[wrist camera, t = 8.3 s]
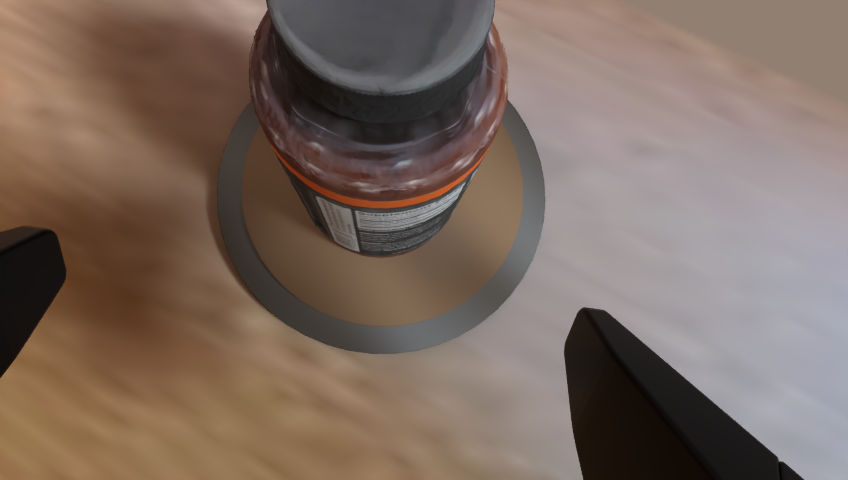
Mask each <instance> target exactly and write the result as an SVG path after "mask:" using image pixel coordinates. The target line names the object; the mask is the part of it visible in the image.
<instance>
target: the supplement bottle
mask: <svg viewBox="0 0 848 480" xmlns="http://www.w3.org/2000/svg"><path fill="white" fill-rule="evenodd" d="M266 2H267V8H268V10H267V12H266V14H265V15H264V17H263V19H262V21H261V22H260V24H259V27H258V29H257V30H256V34H255V36H254V42H253V44H252V48H251V52H250V67H249V83H250V89H251V98H252V101H253V105H254V108H255V114H256V115H257V117H258V120H259V123H260V125H261V127H262V129H263V131H264V133H265V135H266V137H267V140H268V141H269V143H270V144H271V146H272V148H273V149H274V151H275V153H276V156H277V158H278V161H279V162H280V164H281V165H282V167H283V169H284V170H285V172H286V174H287V176H288V177H289V179H290V181H291V184H292V185H293V187H294V188H295V190H296V192H297V194H298V196H299V198H300V199H301V201H302V203H303V205H304V206H305V208H306V210H307V212H308V214H309V216H310V218H311V219H312V221H313V222H314V223H315V226H316V227H318V228H319V230H320V231H321V232H322V233H323V234H324V235H325V236H326V237H328V238H329V239H330V240H331V241H332V242H334V243H335V244H337V245H339V246H340V247H342V248H344V249H346V250H348V251H350V252H352V253H356V254H359V255H362V256H366V257H373V258H386V257H395V256H399V255H403V254H406V253H409V252H411V251H414V250H416V249H418V248H419V247H421V246H423V245H425V244H426V243H427V242H428V241H430V240H432V239H433V238H434V237H435V236H436V235H437V234H438V232H439V231H440V230H441V229H442V228H443V227H444V225H445V224H446V223H447V221H448V220H449V219H450V217H451V215H452V213H453V211H454V210H455V208H456V206H457V205H458V203H459V201H460V199H461V198H462V196H463V194H464V192H465V190H466V189H467V187H468V185H469V184H470V182H471V180H472V178H473V177H474V175H475V173H476V171H477V169H478V168H479V166H480V164H481V162H482V160H483V159H484V157H485V155H486V153H487V151H488V149H489V148H490V146H491V144H492V142H493V140H494V138H495V136H496V134H497V132H498V129H499V127H500V125H501V121H502V118H503V114H504V111H505V107H506V103H507V98H508V65H507V58H506V53H505V49H504V46H503V43H502V41H501V38H500V35H499V33H498V31H497V29H496V27H495V25H494V23H493V21H492V20H493V16H494V7H495V0H266Z"/></svg>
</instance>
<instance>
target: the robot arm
mask: <svg viewBox="0 0 848 480" xmlns="http://www.w3.org/2000/svg"><path fill="white" fill-rule="evenodd" d="M65 278H66V267H65V263H64V260H63V256H62V252H61V248H60V244H59V241H58V237H57V235H56V234H55V232H53V231H52V230H50V229H46V228H39V227H32V226H21V227H17V228H14V229H10V230H6V231H3V232H0V378H1V377H2V375H3V374H4V373H5V372H6V370H7V369H8V368H9V366H10V365H11V364H12V362H13V361H14V360H15V358H16V357H17V355H18V354H19V352H20V351H21V349H22V348H23V347H24V345H25V343H26V342H27V340H28V339H29V337H30V336H31V334H32V332H33V331H34V329H35V328H36V326H37V325H38V323H39V322H40V320H41V318H42V317H43V315H44V314H45V312H46V311H47V309H48V307H49V306H50V304H51V303H52V301H53V300H54V298H55V296H56V295H57V293H58V292H59V290H60V289H61V287H62V285H63V283H64V281H65ZM564 357H565V366H566V375H567V384H568V394H569V403H570V412H571V421H572V428H573V434H574V439H575V444H576V449H577V453H578V458H579V462H580V467H581V471H582V475H583V480H804V479H803V478H802V477H801V476H799V475H798V474H797V473H796V472H795V471H794V470H792V469H791V468H790V467H789V466H788V465H787V464H785V463H784V462H782V461H780V462H779V460H778V457H777V456H776V455H775V454H773V453H772V452H771V451H770V450H769V449H768V448H766V447H765V446H764V445H763V444H762V443H760V442H759V441H758V440H757V439H756V438H755V437H753V436H752V435H751V434H750V433H749V432H748V431H746V430H745V429H744V428H743V427H742V426H740V425H739V424H738V423H737V422H736V421H735V420H733V419H732V418H731V417H730V416H729V415H728V414H726V413H725V412H724V411H723V410H722V409H720V408H719V407H718V406H717V405H716V404H715V403H713V402H712V401H711V400H710V399H709V398H708V397H706V396H705V395H704V394H703V393H702V392H700V391H699V390H698V389H697V388H696V387H695V386H693V385H692V384H691V383H690V382H689V381H688V380H686V379H685V378H684V377H683V376H682V375H680V374H679V373H678V372H677V371H676V370H675V369H673V368H672V367H671V366H670V365H669V364H668V363H666V362H665V361H664V360H663V359H662V358H660V357H659V356H658V355H657V354H656V353H655V352H653V351H652V350H651V349H650V348H649V347H648V346H646V345H645V344H644V343H643V342H642V341H640V340H639V339H638V338H637V337H636V336H635V335H633V334H632V333H631V332H630V331H629V330H628V329H626V328H625V327H624V326H623V325H622V324H621V323H619V322H618V321H617V320H616V319H615V318H613V317H612V316H611V315H610V314H609V313H608V312H606V311H604V310H600V309H593V308H586V307H584V308H582V309H580V310H579V312H578V313H577V315H576V318H575V320H574V323H573V325H572V327H571V330H570V332H569V334H568V337H567V339H566V342H565V347H564Z"/></svg>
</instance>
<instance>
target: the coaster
mask: <svg viewBox="0 0 848 480" xmlns="http://www.w3.org/2000/svg"><path fill="white" fill-rule="evenodd" d="M217 202H218V216H219V221H220V226H221V231H222V236H223V239H224V241H225V244H226V247H227V250H228V253H229V256H230V258H231V260H232V261H233V263H234V265H235V267H236V269H237V271H238V273H239V275H240V276H241V278H242V279H243V281H244V282H245V283H246V285H247V286H248V288H249V289H250V290H251V292H252V293H253V294H254V295H255V296H256V297H257V299H258V300H259V301H260V302H261V303H262V304H263V305H264V306H265V307H266V308H267V309H268V310H269V311H270V312H272V313H273V314H274V315H275V316H277V317H278V318H279V319H280V320H282V321H283V322H284V323H285V324H287V325H289V326H290V327H292V328H294V329H295V330H297V331H299V332H300V333H302V334H304V335H305V336H308V337H310V338H312V339H315V340H317V341H320V342H322V343H324V344H327V345H330V346H334V347H338V348H341V349H345V350H349V351H356V352H363V353H371V354H395V353H403V352H410V351H417V350H421V349H425V348H428V347H432V346H436V345H439V344H442V343H444V342H446V341H449V340H451V339H453V338H456V337H458V336H460V335H462V334H463V333H465V332H467V331H469V330H470V329H472V328H474V327H475V326H477V325H479V324H480V323H481V322H482V321H484V320H485V319H486V318H487V317H489V316H490V315H491V314H492V313H494V312H495V311H496V310H497V309H498V308H499V307H500V306H501V305H502V304H503V303H504V302H505V301H506V299H507V298H508V297H509V296H510V295H511V294H512V292H513V291H514V290H515V288H516V287H517V285H518V284H519V283H520V281H521V280H522V279H523V277H524V275H525V273H526V271H527V269H528V267H529V265H530V263H531V262H532V260H533V257H534V254H535V251H536V249H537V246H538V243H539V240H540V236H541V231H542V226H543V222H544V211H545V187H544V178H543V172H542V167H541V162H540V159H539V156H538V153H537V150H536V146H535V143H534V141H533V139H532V137H531V135H530V133H529V131H528V129H527V127H526V125H525V123H524V122H523V120H522V118H521V117H520V115H519V114H518V112H517V111H516V109H515V108H514V107H513V105H512V104H511V103H510V102H509V101H508V99H507V103H506V107H505V111H504V114H503V118H502V121H501V125H500V127H499V129H498V132H497V134H496V136H495V138H494V140H493V142H492V144H491V146H490V148H489V149H488V151H487V153H486V155H485V157H484V159H483V160H482V162H481V164H480V166H479V168H478V169H477V171H476V173H475V175H474V177H473V178H472V180H471V182H470V184H469V185H468V187H467V189H466V190H465V192H464V194H463V196H462V198H461V199H460V201H459V203H458V205H457V206H456V208H455V210H454V211H453V213H452V215H451V217H450V219H449V220H448V221H447V223H446V224H445V225H444V227H443V228H442V229H441V230H440V231H439V232H438V234H437V235H436V236H435V237H434V238H433V239H432V240H430V241H428V242H427V243H426V244H425V245H423V246H421V247H419V248H418V249H416V250H414V251H411V252H409V253H406V254H403V255H399V256H395V257H386V258H373V257H366V256H362V255H359V254H356V253H352V252H350V251H348V250H346V249H344V248H342V247H340V246H339V245H337V244H335V243H334V242H332V241H331V240H330V239H329V238H328V237H326V236H325V235H324V234H323V233H322V232H321V231H320V230H319V228H318V227H316V226H315V223H314V222H313V221H312V219H311V218H310V216H309V214H308V212H307V210H306V208H305V206H304V205H303V203H302V201H301V199H300V198H299V196H298V194H297V192H296V190H295V188H294V187H293V185H292V184H291V181H290V179H289V177H288V176H287V174H286V172H285V170H284V169H283V167H282V165H281V164H280V162H279V161H278V158H277V156H276V153H275V151H274V149H273V148H272V146H271V144H270V143H269V141H268V140H267V137H266V135H265V133H264V131H263V129H262V127H261V125H260V123H259V120H258V117H257V115H256V114H255V108H254V105H253V101H252V100H251V102H250V103H249V104H248V106H247V107H246V108H245V110H244V111H243V112H242V114H241V115H240V117H239V119H238V121H237V123H236V124H235V126H234V128H233V130H232V132H231V134H230V137H229V139H228V142H227V144H226V147H225V149H224V152H223V157H222V161H221V165H220V169H219V177H218V187H217Z"/></svg>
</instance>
